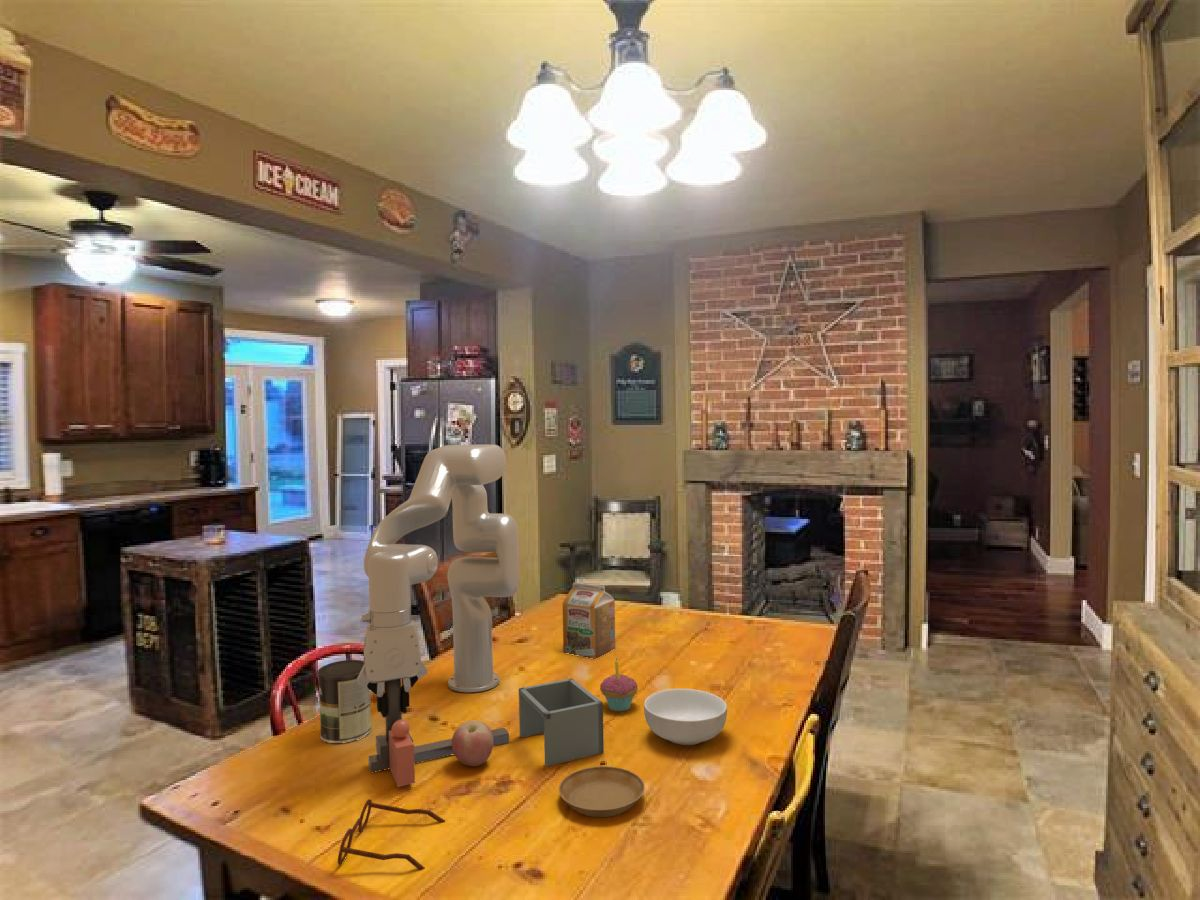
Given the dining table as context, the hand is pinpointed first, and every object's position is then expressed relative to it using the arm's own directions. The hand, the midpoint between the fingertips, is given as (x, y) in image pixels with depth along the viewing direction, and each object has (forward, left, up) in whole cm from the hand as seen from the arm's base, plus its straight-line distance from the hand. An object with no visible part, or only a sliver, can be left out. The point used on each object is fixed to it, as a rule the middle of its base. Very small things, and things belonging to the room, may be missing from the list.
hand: (393, 711), depth 139 cm
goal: (+7, +31, -10) cm, 34 cm away
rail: (0, +9, -10) cm, 14 cm away
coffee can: (-19, -7, -11) cm, 23 cm away
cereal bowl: (+16, +55, -11) cm, 59 cm away
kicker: (+4, 0, -9) cm, 10 cm away
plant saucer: (+30, +29, -11) cm, 43 cm away
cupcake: (-4, +50, -10) cm, 52 cm away
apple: (+7, +13, -11) cm, 18 cm away
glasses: (+27, -5, -11) cm, 29 cm away
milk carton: (-43, +61, -11) cm, 76 cm away
